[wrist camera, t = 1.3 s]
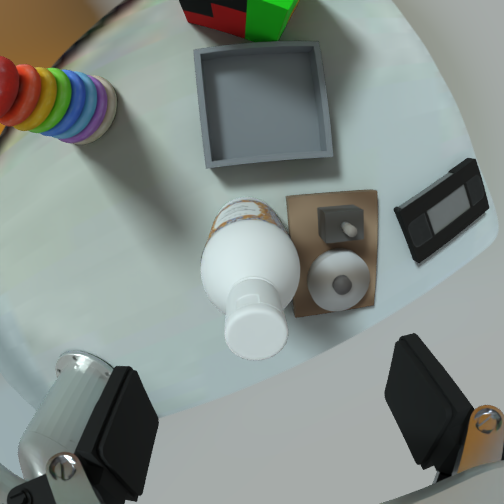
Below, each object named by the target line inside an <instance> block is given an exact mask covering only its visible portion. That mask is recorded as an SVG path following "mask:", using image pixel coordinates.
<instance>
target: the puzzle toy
mask: <svg viewBox="0 0 504 504" xmlns="http://www.w3.org/2000/svg"><path fill="white" fill-rule="evenodd" d="M299 1H300V0H179V2H180V4H181V7H182V9H183V11H184V14H185V16H186V19H187V21H188V22H189V23H193V24H197V25H201V26H205V27H208V28H212V29H216V30H219V31H222V32H226V33H229V34H232V35H235V36H238V37H241V38H244V39H247V40H250V41H253V42H272V41H279V39H280V37H281V35H282V33H283V31H284V29H285V27H286V25H287V23H288V21H289V20H290V18H291V16H292V14H293V12H294V10H295V8H296V6H297V5H298V3H299Z"/></svg>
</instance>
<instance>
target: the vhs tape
mask: <svg viewBox="0 0 504 504" xmlns="http://www.w3.org/2000/svg"><path fill="white" fill-rule="evenodd" d="M488 209H489V204H488V200H487V196H486V192H485V188H484V185H483V181H482V178H481V174H480V171H479V168H478V165H477V162H476V159H472V158H467V159H465V160H464V161H463V162H461V163H460V164H458V165H457V166H455V167H454V168H453V169H451V170H450V171H449V173H447V174H446V175H444V176H443V177H442V178H440V179H439V180H437V181H436V182H434V183H433V184H431V185H430V186H429V187H427V188H426V189H424V190H423V191H421V192H420V193H418V194H417V195H415V196H414V197H412V198H411V199H409V200H408V201H406V202H405V203H403V204H402V205H400V206H399V207H395V208H394V212H395V214H396V217H397V219H398V221H399V224H400V226H401V229H402V231H403V234H404V236H405V239H406V241H407V244H408V247H409V249H410V252H411V255H412V258H413V260H415V261H416V262H418V263H420V262H421V261H423V260H424V259H426V258H427V257H428V256H430V255H431V254H432V253H434V252H435V251H436V250H438V249H439V248H440V247H442V246H443V245H444V244H446V243H447V242H448V241H450V240H451V239H452V238H453V237H455V236H456V235H457V234H459V233H460V232H461V231H462V230H464V229H465V228H466V227H467V226H468V225H470V224H471V223H472V222H473V221H475V220H476V219H477V218H478V217H479V216H481V215H482V214H483V213H484V212H485V211H486V210H488Z"/></svg>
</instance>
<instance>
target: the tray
mask: <svg viewBox="0 0 504 504" xmlns="http://www.w3.org/2000/svg"><path fill="white" fill-rule="evenodd" d="M194 61H195V72H196V83H197V93H198V103H199V112H200V121H201V130H202V139H203V147H204V156H205V164H206V169H207V168H214V167H222V166H230V165H238V164H247V163H257V162H267V161H278V160H291V159H305V158H321V157H333V147H332V136H331V126H330V117H329V108H328V100H327V92H326V84H325V77H324V70H323V64H322V57H321V51H320V45H319V41H272V42H254V43H242V44H231V45H223V46H215V47H207V48H201V49H195V50H194Z"/></svg>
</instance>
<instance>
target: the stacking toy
mask: <svg viewBox="0 0 504 504" xmlns="http://www.w3.org/2000/svg"><path fill="white" fill-rule="evenodd" d="M116 108H117V98H116V93H115V90H114V88H113V87H112V85H111V84H110V83H109V82H108V81H107V80H106V79H104V78H102V77H100V76H94V75H91V76H89V75H86V74H84V73H81V72H73V71H70V70H60V69H57V68H47V69H46V68H41V67H37V68H34V67H32V66H31V65H27V64H21V65H17V66H15V65H14V64H13V62H12V61H10V60H9V59H7V58H5V57H2V56H0V123H1V124H3V125H6V126H13V127H15V128H16V129H18V130H21V131H30V132H33V133H40V134H42V135H45V136H52V137H54V138H58V139H59V140H61V141H63V142H66V143H73V144H78V145H84V144H88V143H91V142H93V141H95V140H97V139H98V138H100V137H101V136H102V135H103V134H104V133H105V132H106V131H107V130H108V128H109V127H110V125H111V124H112V122H113V119H114V117H115V113H116Z"/></svg>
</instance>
